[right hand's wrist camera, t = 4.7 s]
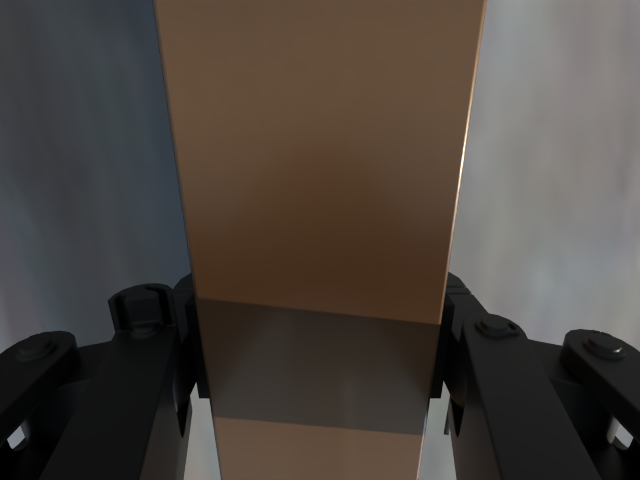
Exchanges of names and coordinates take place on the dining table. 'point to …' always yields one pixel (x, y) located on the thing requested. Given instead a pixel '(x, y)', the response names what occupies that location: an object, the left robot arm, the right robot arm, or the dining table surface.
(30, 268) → the dining table surface
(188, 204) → the plank
